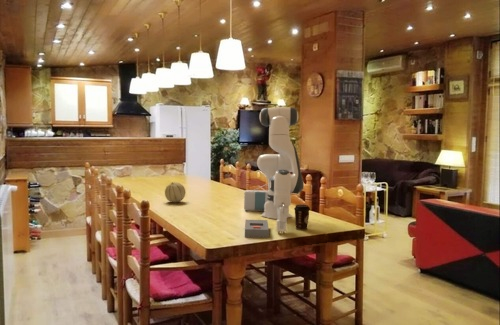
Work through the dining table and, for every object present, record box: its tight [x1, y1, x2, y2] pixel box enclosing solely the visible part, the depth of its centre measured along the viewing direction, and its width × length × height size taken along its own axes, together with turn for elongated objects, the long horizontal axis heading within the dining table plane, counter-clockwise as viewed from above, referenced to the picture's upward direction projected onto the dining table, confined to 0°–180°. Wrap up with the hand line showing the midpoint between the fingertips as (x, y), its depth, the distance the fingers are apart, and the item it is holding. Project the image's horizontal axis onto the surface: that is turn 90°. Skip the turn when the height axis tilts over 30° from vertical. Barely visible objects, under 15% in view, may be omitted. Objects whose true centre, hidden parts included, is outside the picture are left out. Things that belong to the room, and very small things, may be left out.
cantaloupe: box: [164, 181, 186, 203], centre depth 297 cm, size 15×15×15 cm
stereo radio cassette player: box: [243, 183, 268, 212], centre depth 274 cm, size 21×8×20 cm, turn 89°
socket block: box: [244, 219, 270, 239], centre depth 217 cm, size 22×12×5 cm, turn 0°
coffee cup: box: [293, 204, 311, 231], centre depth 225 cm, size 9×8×13 cm
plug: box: [275, 219, 288, 235], centre depth 215 cm, size 4×5×7 cm
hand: (281, 227), depth 215 cm, fingers closed on plug, 3 cm apart
